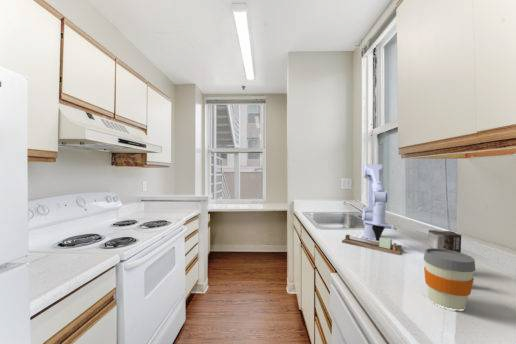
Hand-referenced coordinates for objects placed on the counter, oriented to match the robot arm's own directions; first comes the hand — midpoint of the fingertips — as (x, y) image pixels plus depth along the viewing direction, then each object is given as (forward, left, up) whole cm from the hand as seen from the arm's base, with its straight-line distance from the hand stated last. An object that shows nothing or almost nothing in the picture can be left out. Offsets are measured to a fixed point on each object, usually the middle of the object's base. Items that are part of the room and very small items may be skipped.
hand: (377, 240), depth 129 cm
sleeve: (0, +4, -2) cm, 4 cm away
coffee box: (+14, +28, -4) cm, 31 cm away
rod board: (0, -3, -4) cm, 5 cm away
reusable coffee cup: (+44, +30, -4) cm, 53 cm away
